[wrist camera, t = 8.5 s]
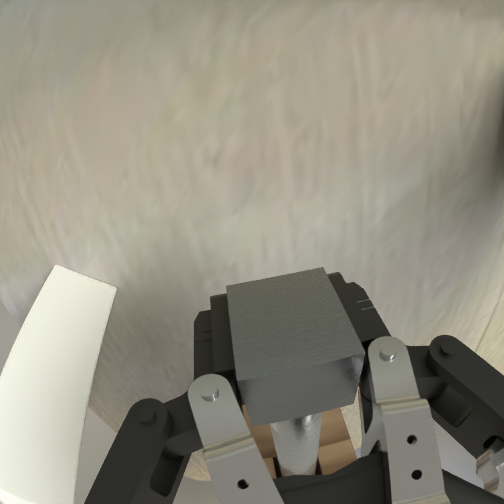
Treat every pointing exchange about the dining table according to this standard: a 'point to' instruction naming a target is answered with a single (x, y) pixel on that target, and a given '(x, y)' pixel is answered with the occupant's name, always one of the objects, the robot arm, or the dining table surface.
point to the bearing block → (329, 451)
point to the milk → (51, 389)
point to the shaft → (293, 359)
